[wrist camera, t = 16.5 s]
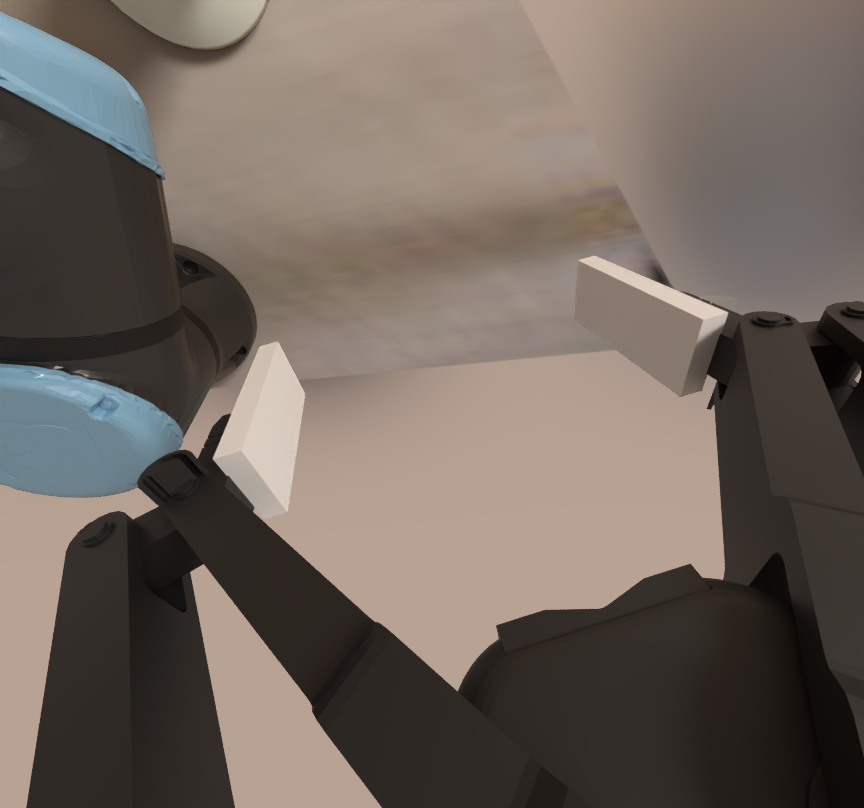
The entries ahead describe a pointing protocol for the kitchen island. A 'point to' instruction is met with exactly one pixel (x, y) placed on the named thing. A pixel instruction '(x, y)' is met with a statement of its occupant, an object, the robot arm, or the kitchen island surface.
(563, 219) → the kitchen island surface
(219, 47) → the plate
